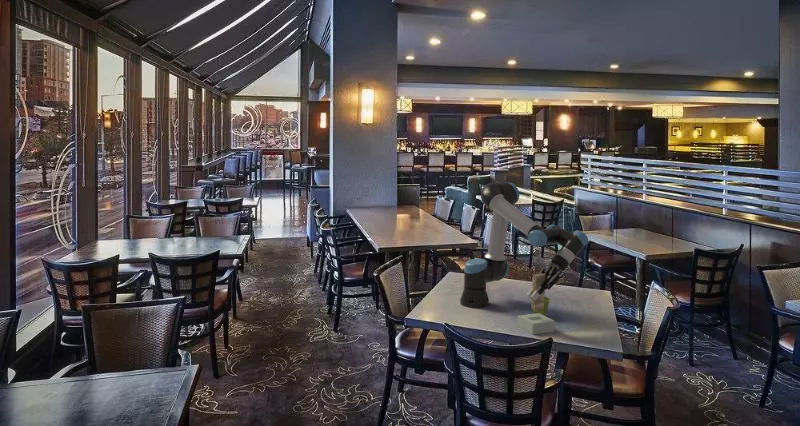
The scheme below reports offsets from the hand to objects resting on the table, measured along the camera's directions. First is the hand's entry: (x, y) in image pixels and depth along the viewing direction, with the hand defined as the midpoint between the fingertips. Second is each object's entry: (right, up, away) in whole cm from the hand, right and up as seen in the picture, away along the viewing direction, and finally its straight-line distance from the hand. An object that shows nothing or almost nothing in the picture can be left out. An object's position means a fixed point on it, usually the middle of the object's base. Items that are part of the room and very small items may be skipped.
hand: (530, 297), depth 242 cm
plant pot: (+10, -13, +24) cm, 29 cm away
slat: (+4, -5, +2) cm, 7 cm away
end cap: (+3, -15, +4) cm, 16 cm away
